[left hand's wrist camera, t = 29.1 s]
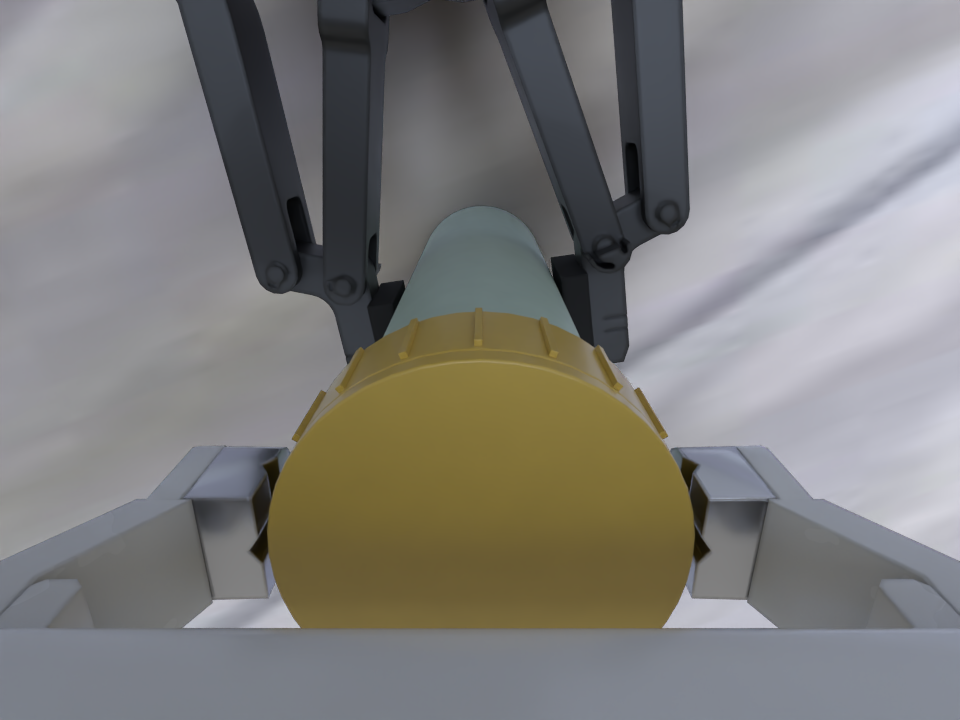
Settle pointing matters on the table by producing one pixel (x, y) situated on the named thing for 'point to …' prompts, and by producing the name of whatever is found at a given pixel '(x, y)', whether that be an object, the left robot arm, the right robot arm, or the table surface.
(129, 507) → the left robot arm
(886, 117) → the table surface
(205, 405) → the table surface
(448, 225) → the jar
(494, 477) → the lid
